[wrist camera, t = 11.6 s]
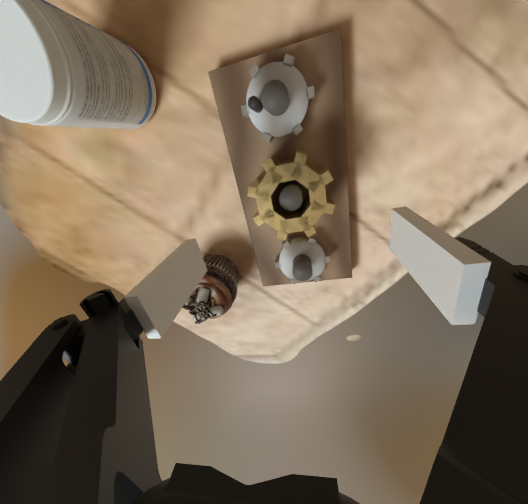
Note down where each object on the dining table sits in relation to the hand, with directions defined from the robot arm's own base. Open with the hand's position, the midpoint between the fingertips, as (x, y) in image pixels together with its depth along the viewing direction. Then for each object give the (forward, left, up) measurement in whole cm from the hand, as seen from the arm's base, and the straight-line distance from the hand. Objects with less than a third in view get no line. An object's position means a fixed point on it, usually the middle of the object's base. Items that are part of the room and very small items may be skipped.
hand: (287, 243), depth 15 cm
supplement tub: (+20, -17, -20) cm, 33 cm away
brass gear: (0, 0, -18) cm, 18 cm away
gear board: (0, 0, -20) cm, 20 cm away
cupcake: (+16, +13, -20) cm, 29 cm away
